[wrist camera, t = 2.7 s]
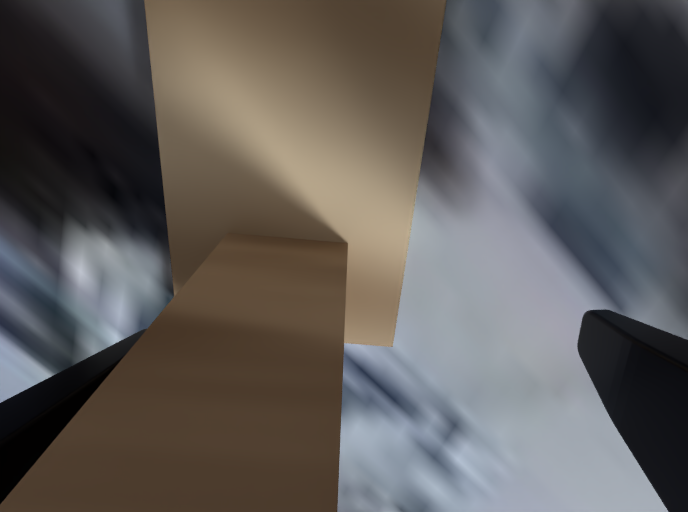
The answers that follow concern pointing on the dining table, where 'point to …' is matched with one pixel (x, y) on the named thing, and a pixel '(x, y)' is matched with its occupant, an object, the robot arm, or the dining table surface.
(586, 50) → the dining table surface
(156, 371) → the tan boxy piece
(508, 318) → the dining table surface
